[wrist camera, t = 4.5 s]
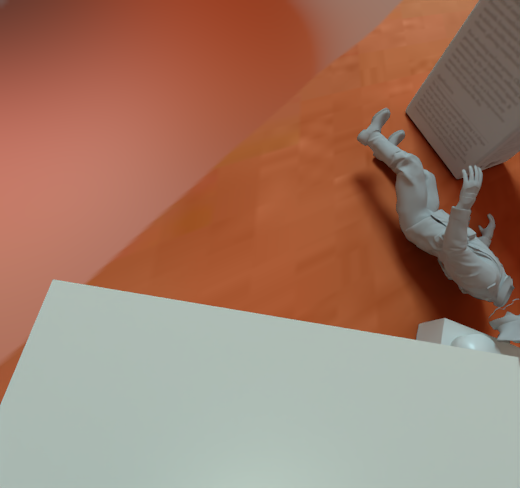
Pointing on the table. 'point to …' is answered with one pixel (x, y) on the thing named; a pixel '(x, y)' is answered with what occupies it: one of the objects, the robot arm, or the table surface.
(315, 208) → the table surface
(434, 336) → the studded pedestal base
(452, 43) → the skincare box
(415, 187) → the soldier figure
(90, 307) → the tall brick
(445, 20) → the table surface
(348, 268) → the table surface
